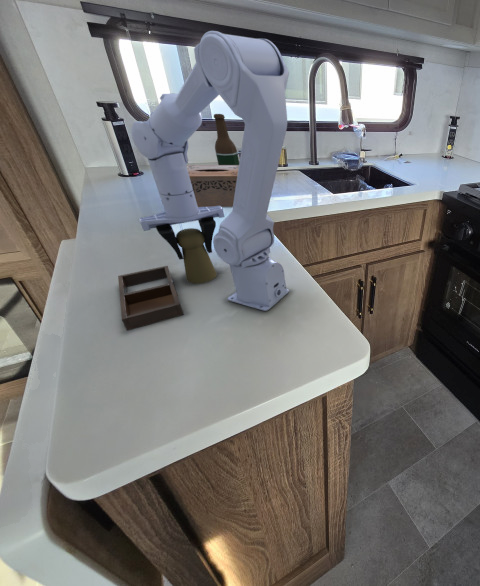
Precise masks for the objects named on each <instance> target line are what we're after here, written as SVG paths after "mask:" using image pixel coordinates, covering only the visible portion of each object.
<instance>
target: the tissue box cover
mask: <svg viewBox="0 0 480 586" xmlns="http://www.w3.org/2000/svg"><path fill="white" fill-rule="evenodd" d="M186 166H187V170H188V173H189V177H190V181H191V184H192V188H193V191H194V195H195V199H196V202H197V206H198V207H213V206H221V207H222V208H229V207H231V208H233V202H234V196H235V189H236V182H237V175H238V169H239V165H218V164H189V165H188V164H186Z"/></svg>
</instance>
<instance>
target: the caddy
mask: <svg viewBox="0 0 480 586" xmlns="http://www.w3.org/2000/svg"><path fill="white" fill-rule="evenodd" d="M117 278H118V279H117V280H118V292H119V303H120V316H121V321H122V323H123V325H124V327H125V329H126V331H131V330H134V329H137V328H141V327H145V326H148V325H151V324H155V323H158V322H163V321H166V320H169V319H173V318H176V317H181V316H183V315H184V312H183V308H182V305H181V302H180V299H179V295H178V293H177V289H176V286H175V283H174V279H173V276H172V274H171V271H170V269H169V266H168V265H164V266H159V267H154V268H149V269H145V270H140V271H135V272H130V273H126V274H121V275H118V276H117ZM162 279H167V282H168V283H165V284H160V285H156V286H152V287H148V288H144V289H143V288H142V289H139V290H134V291H131V292H128V287H132V286H136V285H140V284H144V283H149V282H154V281H158V280H162Z"/></svg>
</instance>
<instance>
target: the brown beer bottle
mask: <svg viewBox="0 0 480 586" xmlns="http://www.w3.org/2000/svg"><path fill="white" fill-rule="evenodd" d="M213 118H214V121H215V128H216V136H217V137H216V140H215V143H214V144H215V145H214V150H215V156H216V161H217V165H239V162H240V158H239V154H238V150H237V147H236V144H235V143H234V141H232V139H231V138H230V135H229V132H228V127H227V123H226V120H225V119H226V116H225V115H224V114H223V113H214V114H213Z"/></svg>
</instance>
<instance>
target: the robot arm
mask: <svg viewBox="0 0 480 586" xmlns="http://www.w3.org/2000/svg"><path fill="white" fill-rule="evenodd" d="M193 50H194V51H193V52H194V60H195V63H194V65H193V67H192V69H191V71H190V72H189V74H188V75H187V77H186V79H185V81H184V82H183V84H182V86H181V88H180V90H179V92H178V93H175V92H169V93H162V94H161V96H160V97H159V99H160V102H159V104H158V105H157V106H156V107H155V109H154V110H153V111H151V113H150V114H149V118H148V119H147V120H144V121H142V120H137V121H133V123H132V126H131V128H130V130H131V131H130V132H131V133H130V134H131V138H132V141H133V143H134V145H135V147H136V149H137V150H138V152H139V153H140V154H141V155H142V156H143V157H144V158H146V159H147V161H148V164H149V169H150V170H151V173H152V177H153V179H154V182H155V185H156V189H157V191H158V194H159V198H160V200H161V204H162V207H163V210H164V211H163V212H159V213H155V214H152V215H148V216H143V217H139V218H138V220H139V222H140V224H141V227H142V230H143V232H147V231H150V230H151V229H156V231H157V232H158V234H159V235H160V237H161V238H163V239H164V240H165V242H167V243H168V244H169V245H170V247H171V248H172V249H173V250H174V252H175V253H176V255H177V258H178V260H179V261H180V260H184V259H183V253H182V250H181V249H180V246H179V245H178V243H177V240H176V234H175V231H174V229H173V227H172V226H173V225H179V224H185V223H192V222H197V221H198V224H199V227H200V231H201V232H202V233H203V234H204V237H205V242H204V246H205V249H206V251H207V253H208V254H211V253H213V248H214V251H215V253H216V255H217V256H218V258H219V259H220V260H221V261H223V262H225V263H226V264H227V265H229V268H230V272H231V276H232V281H233V285H234V288H235V292H233V293H232V294H231V295H229V296H228V297H227V301H229V302H231V303H236V304H240V305H242V306H246V307H249V308H253V309H257V310H260V311H263V312H268V311H269V310H270V309H271V308H273V306H275V305H276V304H277V303H278V302H279V301H281V299H283V298H284V297H285V296H286V295H287V294H288V293H290V289H288V288H287V284H286V283H287V282H286V276H285V270H284V267H283V265H282V264H281V263H280V262H278V261H276V260H274V259H272V258H271V256H270V255H269V254H271V247H272V246H273V245H274V243H275V234H274V226H275V221H274V220H273V219H272V218H271V217H270V216H269V215H268V211H269V206H270V201H271V197H272V193H273V189H274V184H275V180H276V177H277V171H278V168H279V164H280V158H281V154H282V150H283V145H284V141H285V138H286V133H287V129H288V112H287V101H286V90H287V86H288V81H289V76H290V71H289V69H288V67H287V65H286V62H285V61H284V58H283V55H282V54H281V52H280V50H279V48H278V47H277V46H276V44H274V43H273V42H272V41H271V40H269V39H267V38H263V37H261V38H254V37H247V36H241V35H234V34H227V33H223V32H220V31H217V30H208V31H207V32H205V33H204V34H203V35H202V37H201V38H200V41H199V43H198V44H196V46H194V48H193ZM218 97H220V98H221V100H223V101H224V103H225V104H226V105H227V107H229V109H230V110H231V112H233V114H234V115H235V116H237V117H238V118H240V119H242V121H243V123H244V128H243V135H242V143H241V149H240V155H239V156H240V157H239V169H238V175H237V182H236V189H235V196H234V202H233V207H232V209H231V212H230V213H229V214H228V215H227V216H226V217H225V212H224V209H223V208H224V207H221V206H213V207H198V206H197V202H196V199H195V195H194V191H193V188H192V184H191V181H190V177H189V173H188V170H187V166H186V165H188V164H189V158H188V152H189V151H188V150H189V139H190V138H191V137H192V136H193V135H194V133H196V132H197V130H198V129H199V128H200V127H201V125H202V124H203V116H202V112H203V111H204V110H205V109H206V108H207V107H208V106H209V105H210V104H212V103H213V101H214V100H215V99H216V98H218ZM215 218H219V219H220V218H221V219H222V218H224V219H223V221H222V222H221V223H219V227H218V231H217V233H216V234H214V233H215V230H216V228H217V227H216V226H217V222H216V220H215ZM212 247H213V248H212Z"/></svg>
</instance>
